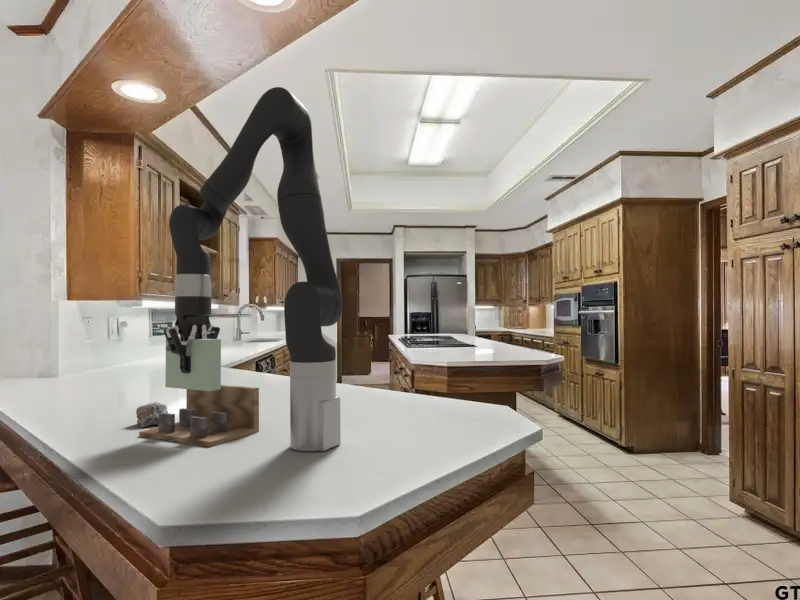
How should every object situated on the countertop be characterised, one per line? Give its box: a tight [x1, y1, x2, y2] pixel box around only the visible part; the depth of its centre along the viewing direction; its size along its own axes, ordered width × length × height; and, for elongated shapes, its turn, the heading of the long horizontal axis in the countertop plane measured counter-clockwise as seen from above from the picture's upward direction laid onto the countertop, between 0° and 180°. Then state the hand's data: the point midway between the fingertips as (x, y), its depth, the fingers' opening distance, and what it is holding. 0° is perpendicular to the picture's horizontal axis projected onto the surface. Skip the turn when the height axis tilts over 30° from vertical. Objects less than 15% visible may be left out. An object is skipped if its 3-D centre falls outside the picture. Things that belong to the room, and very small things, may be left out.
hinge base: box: [138, 384, 260, 448], centre depth 106 cm, size 22×14×10 cm, turn 64°
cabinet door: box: [165, 338, 222, 391], centre depth 104 cm, size 14×4×11 cm, turn 64°
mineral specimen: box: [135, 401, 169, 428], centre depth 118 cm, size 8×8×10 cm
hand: (192, 371), depth 105 cm, fingers closed on cabinet door, 3 cm apart
